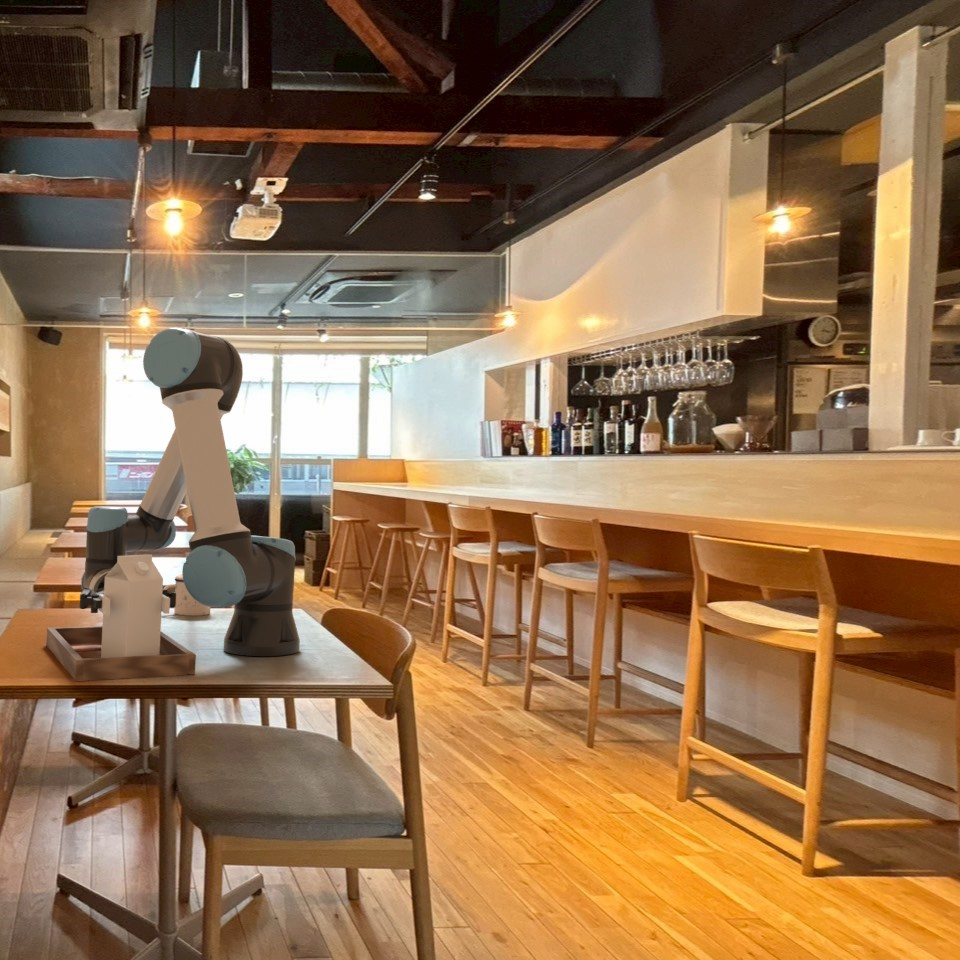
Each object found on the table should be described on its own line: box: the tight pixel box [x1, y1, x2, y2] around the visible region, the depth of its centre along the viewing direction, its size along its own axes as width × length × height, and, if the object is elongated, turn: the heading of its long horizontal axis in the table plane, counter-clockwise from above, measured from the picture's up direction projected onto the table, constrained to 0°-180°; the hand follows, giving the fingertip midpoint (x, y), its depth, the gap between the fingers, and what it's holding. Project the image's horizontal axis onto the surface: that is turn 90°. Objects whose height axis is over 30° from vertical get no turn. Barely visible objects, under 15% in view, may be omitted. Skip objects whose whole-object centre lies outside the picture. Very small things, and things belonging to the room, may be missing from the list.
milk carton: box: [100, 554, 164, 658], centre depth 182 cm, size 7×7×19 cm
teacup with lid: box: [163, 574, 211, 617], centre depth 255 cm, size 12×9×12 cm
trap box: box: [46, 625, 197, 682], centre depth 193 cm, size 20×36×4 cm, turn 30°
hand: (138, 606), depth 178 cm, fingers closed on milk carton, 9 cm apart
